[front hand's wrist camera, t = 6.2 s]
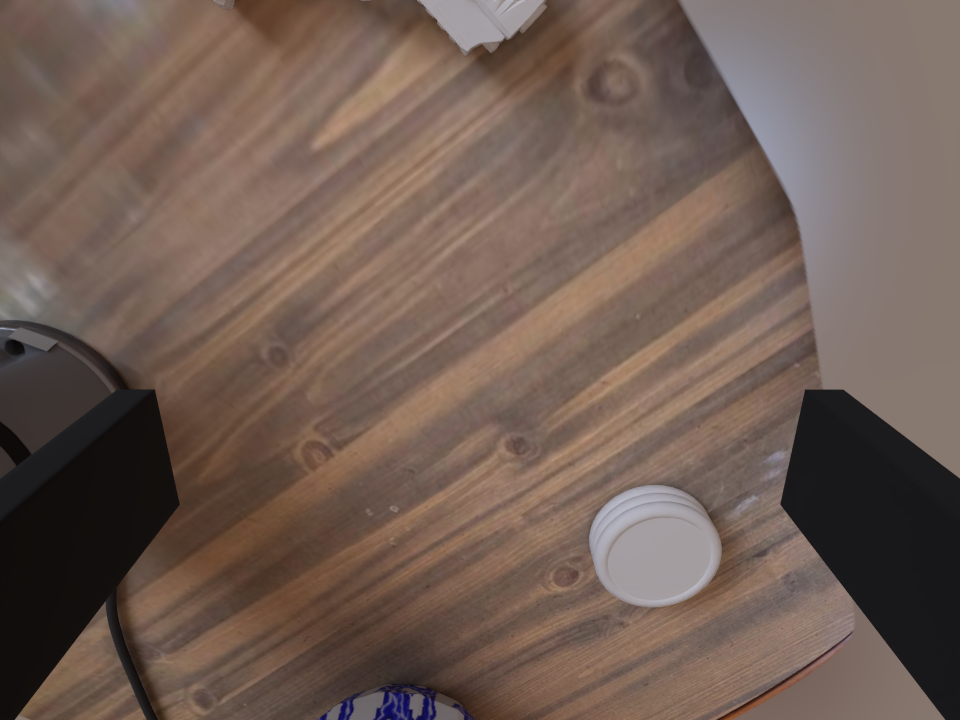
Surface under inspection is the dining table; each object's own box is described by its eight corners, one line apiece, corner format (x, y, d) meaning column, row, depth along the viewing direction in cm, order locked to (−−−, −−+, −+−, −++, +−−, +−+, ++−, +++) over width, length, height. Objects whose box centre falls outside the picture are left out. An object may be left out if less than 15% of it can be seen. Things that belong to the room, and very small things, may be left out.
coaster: (733, 525, 51) (751, 553, 48) (648, 598, 54) (659, 630, 51) (647, 459, 49) (659, 484, 45) (563, 540, 52) (569, 569, 48)
